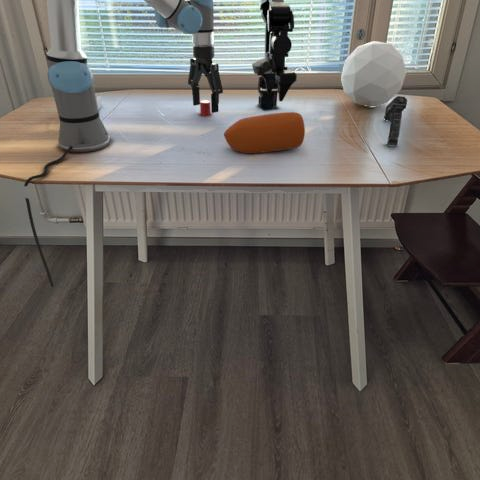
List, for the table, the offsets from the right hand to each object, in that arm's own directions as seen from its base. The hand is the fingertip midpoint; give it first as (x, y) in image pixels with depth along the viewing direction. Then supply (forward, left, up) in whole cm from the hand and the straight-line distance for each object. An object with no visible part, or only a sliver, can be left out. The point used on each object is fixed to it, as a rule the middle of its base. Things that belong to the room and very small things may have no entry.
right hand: (274, 97), depth 143 cm
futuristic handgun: (-33, +25, -9) cm, 42 cm away
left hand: (+20, -18, -7) cm, 28 cm away
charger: (+60, -40, -9) cm, 73 cm away
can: (+20, -18, -9) cm, 28 cm away
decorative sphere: (-46, -6, -9) cm, 47 cm away
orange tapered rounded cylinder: (+14, +21, -9) cm, 27 cm away
